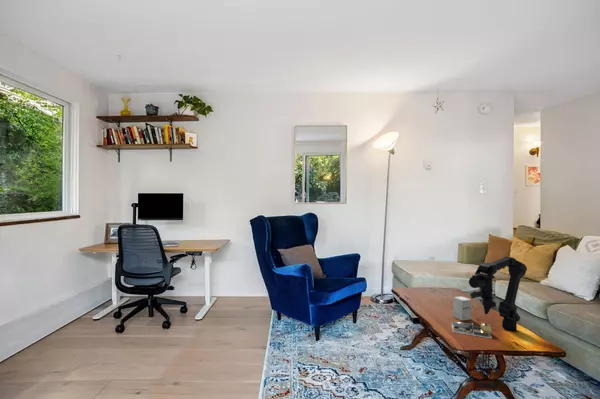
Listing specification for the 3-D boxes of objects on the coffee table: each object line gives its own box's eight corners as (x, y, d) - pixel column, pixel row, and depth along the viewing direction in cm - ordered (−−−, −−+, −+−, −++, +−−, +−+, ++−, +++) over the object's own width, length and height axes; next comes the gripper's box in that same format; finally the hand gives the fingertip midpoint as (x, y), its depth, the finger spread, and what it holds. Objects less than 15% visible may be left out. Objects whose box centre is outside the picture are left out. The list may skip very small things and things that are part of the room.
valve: (490, 331, 172) (490, 321, 172) (492, 335, 167) (492, 325, 167) (479, 330, 174) (480, 320, 174) (481, 333, 169) (481, 323, 169)
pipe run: (487, 329, 175) (488, 322, 175) (492, 338, 164) (492, 330, 164) (451, 324, 183) (451, 316, 183) (452, 332, 172) (453, 324, 172)
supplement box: (461, 320, 188) (462, 300, 188) (452, 316, 195) (453, 296, 195) (471, 319, 190) (471, 299, 190) (462, 315, 197) (462, 295, 197)
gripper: (468, 280, 182) (467, 306, 182) (472, 288, 165) (472, 317, 165) (489, 282, 178) (489, 309, 178) (496, 291, 161) (495, 321, 161)
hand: (486, 314), depth 170 cm, fingers closed
